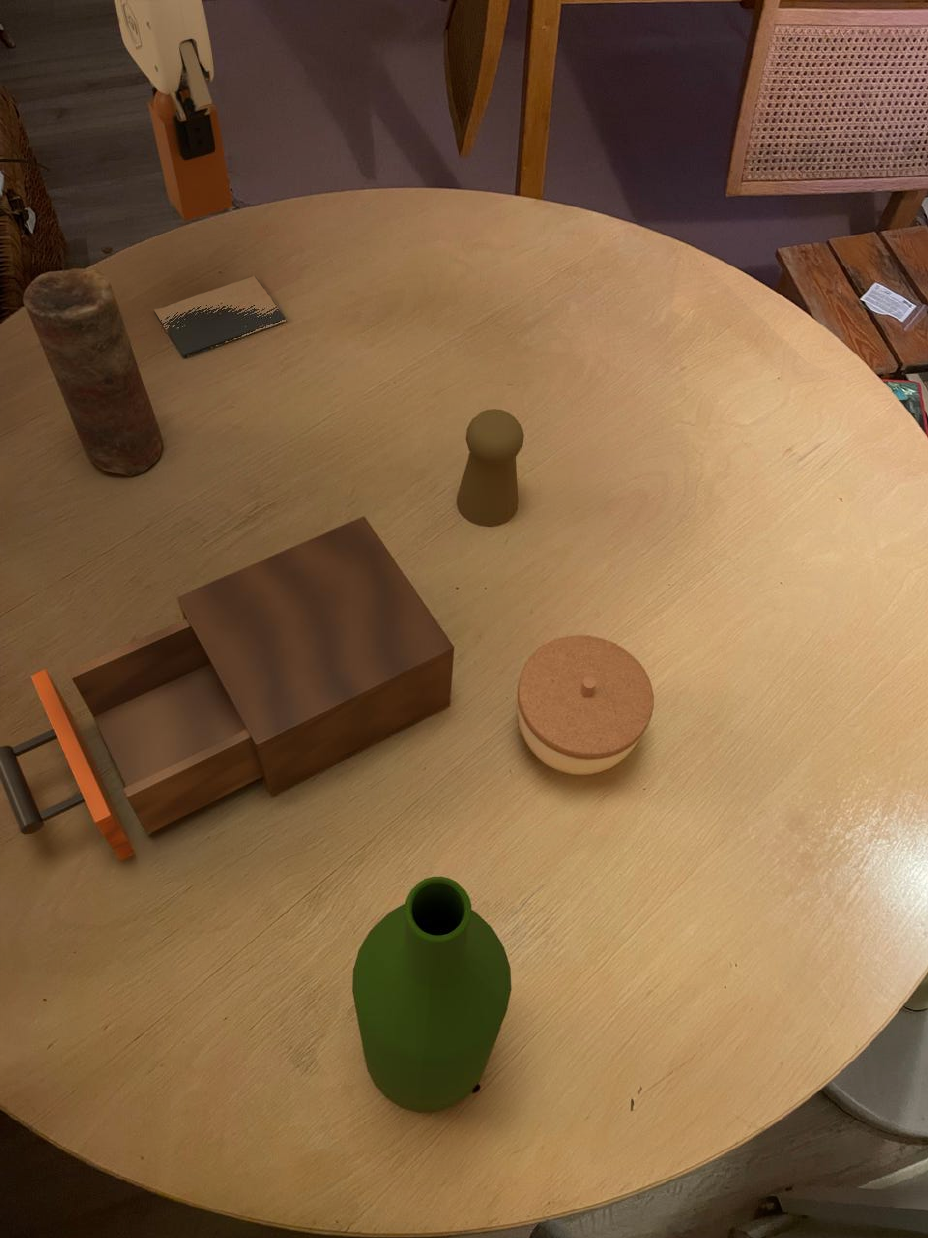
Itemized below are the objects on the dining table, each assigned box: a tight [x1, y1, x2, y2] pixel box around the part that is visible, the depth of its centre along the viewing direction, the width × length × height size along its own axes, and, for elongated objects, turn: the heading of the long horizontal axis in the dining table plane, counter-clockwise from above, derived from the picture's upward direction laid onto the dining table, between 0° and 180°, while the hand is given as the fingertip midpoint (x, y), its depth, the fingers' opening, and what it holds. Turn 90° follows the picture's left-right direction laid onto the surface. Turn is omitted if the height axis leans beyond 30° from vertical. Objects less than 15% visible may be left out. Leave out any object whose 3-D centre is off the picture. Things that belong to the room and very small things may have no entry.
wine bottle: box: [351, 876, 512, 1113], centre depth 60 cm, size 9×9×32 cm
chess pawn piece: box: [456, 408, 525, 528], centre depth 96 cm, size 6×6×11 cm
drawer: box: [0, 618, 263, 861], centre depth 81 cm, size 21×14×8 cm, turn 121°
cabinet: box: [176, 515, 455, 798], centre depth 85 cm, size 17×15×10 cm
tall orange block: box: [147, 89, 234, 223], centre depth 96 cm, size 5×4×12 cm
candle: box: [22, 268, 163, 477], centre depth 94 cm, size 8×7×20 cm
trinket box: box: [516, 634, 655, 776], centre depth 84 cm, size 11×11×9 cm
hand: (187, 138), depth 95 cm, fingers closed on tall orange block, 4 cm apart
